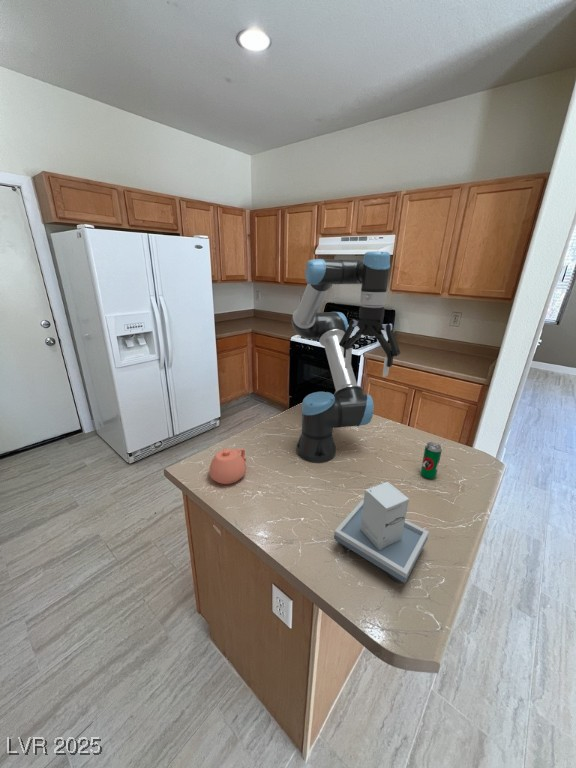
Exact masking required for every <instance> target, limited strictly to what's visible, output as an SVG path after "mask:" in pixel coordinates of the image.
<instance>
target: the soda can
mask: <svg viewBox="0 0 576 768" xmlns="http://www.w3.org/2000/svg"><path fill="white" fill-rule="evenodd" d="M442 452H443V451H442V446H441V444H439V443H438V442H434V441H429V442H427V443H426V444H425V447H424V451H423V457H422V463H421V466H420V467H421V468H420V472H419V473H420V475H421V476H422V477H423V478H424V479H427V480H434V479H436V477H437V475H438V469H439V466H440V461H441V456H442V455H441V454H442Z"/></svg>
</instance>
